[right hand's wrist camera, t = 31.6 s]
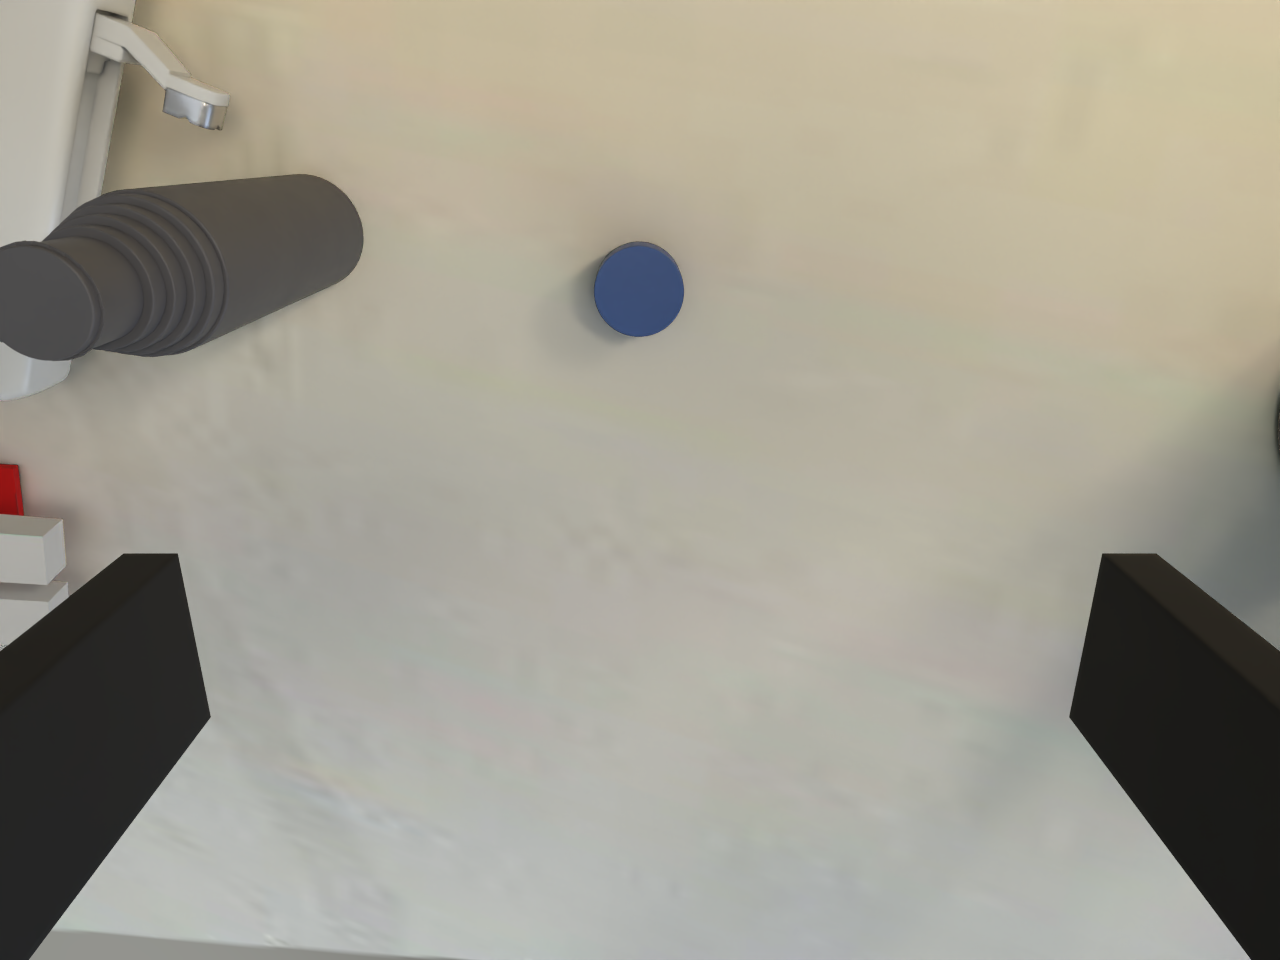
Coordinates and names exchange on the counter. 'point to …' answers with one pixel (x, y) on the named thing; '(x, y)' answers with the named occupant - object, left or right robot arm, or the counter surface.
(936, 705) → the counter surface
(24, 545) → the toy
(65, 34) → the left robot arm
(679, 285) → the cap
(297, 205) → the bottle
